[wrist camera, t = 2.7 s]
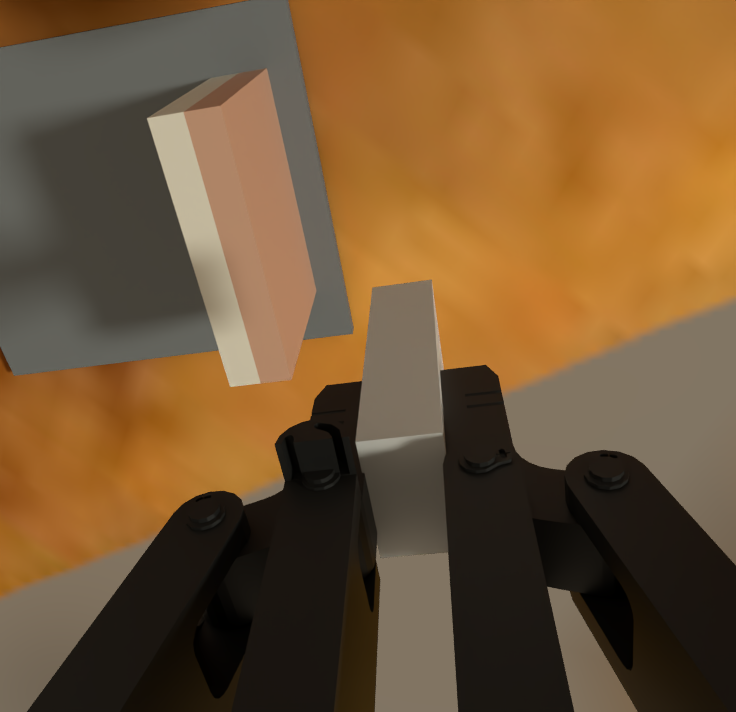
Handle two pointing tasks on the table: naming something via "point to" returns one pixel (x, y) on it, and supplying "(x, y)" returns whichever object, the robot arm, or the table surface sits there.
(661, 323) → the table surface
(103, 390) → the table surface
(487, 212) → the table surface
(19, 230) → the mat
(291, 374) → the tile
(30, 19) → the table surface
